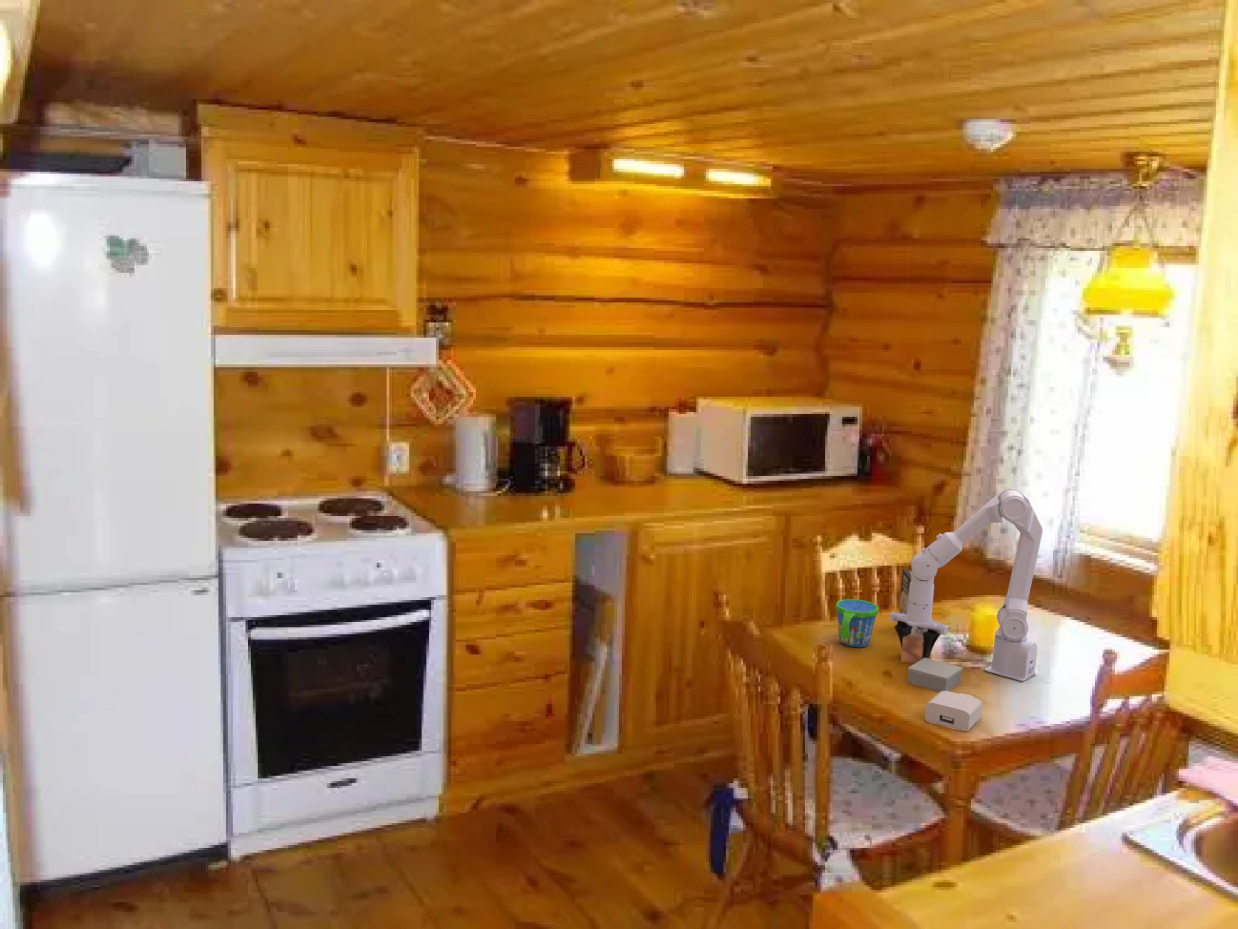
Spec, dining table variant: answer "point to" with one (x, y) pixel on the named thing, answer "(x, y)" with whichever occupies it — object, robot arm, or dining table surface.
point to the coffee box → (905, 596)
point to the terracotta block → (912, 648)
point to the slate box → (934, 675)
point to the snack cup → (855, 621)
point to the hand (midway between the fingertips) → (915, 655)
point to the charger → (954, 710)
